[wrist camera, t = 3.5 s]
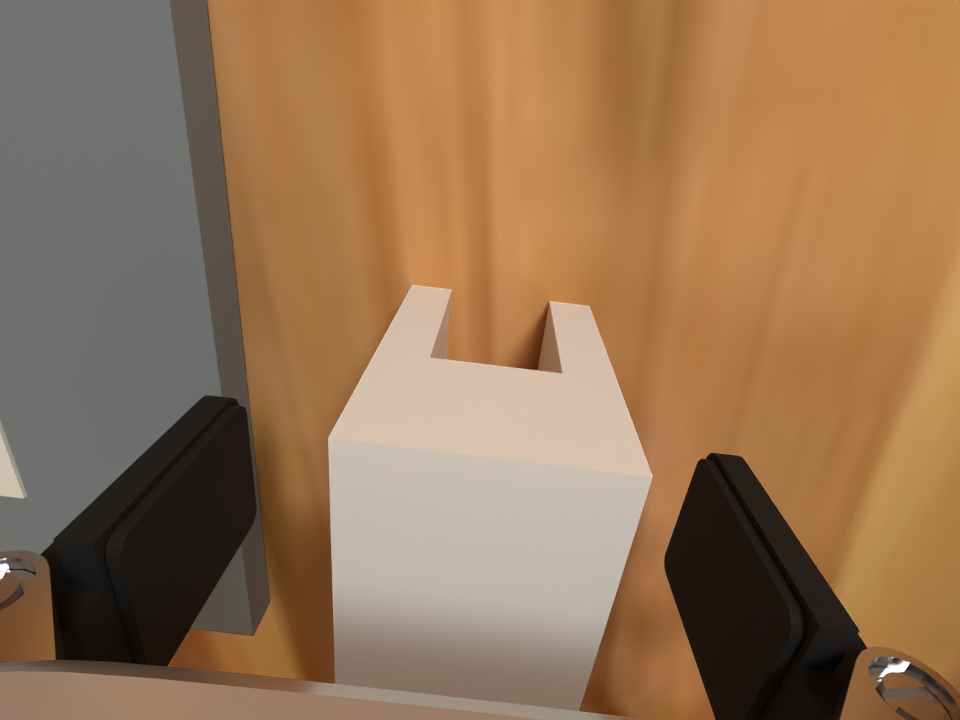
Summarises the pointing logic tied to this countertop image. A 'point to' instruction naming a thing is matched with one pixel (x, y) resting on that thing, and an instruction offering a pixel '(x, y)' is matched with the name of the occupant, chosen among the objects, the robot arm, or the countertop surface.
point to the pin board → (112, 263)
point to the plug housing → (481, 513)
